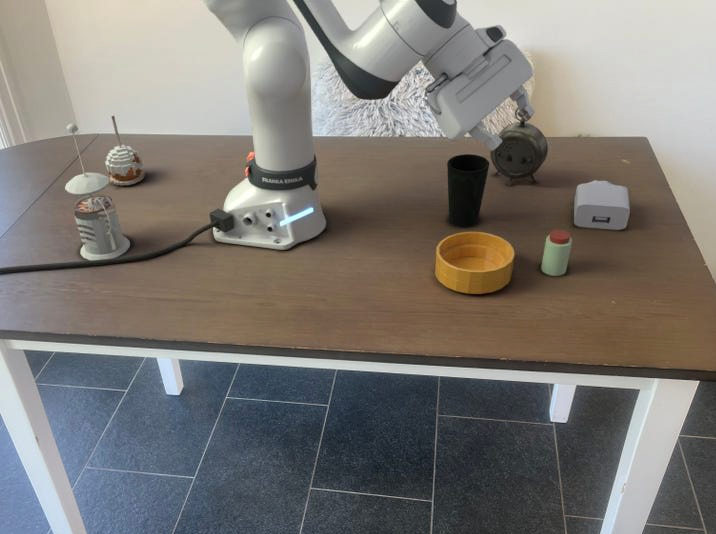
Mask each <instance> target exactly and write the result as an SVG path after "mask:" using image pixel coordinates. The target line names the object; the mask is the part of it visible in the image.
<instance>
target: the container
mask: <svg viewBox="0 0 716 534" xmlns="http://www.w3.org/2000/svg"><path fill="white" fill-rule="evenodd" d="M572 243H573V239H572V237H571V234H570V233H569V231H566V230H563V229H555V230H552V231H551V232H550V233H549V235H547V236H546V239H545V243H544V249H543V254H542V260H541V267H540V269H541V271H542V273H543V274H545V275H548V276H552V277H559V276H563V275H564V274H565V273H566V272H567V268H568V263H569V259H570V255H571V249H572Z"/></svg>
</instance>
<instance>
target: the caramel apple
mask: <svg viewBox="0 0 716 534" xmlns="http://www.w3.org/2000/svg"><path fill="white" fill-rule="evenodd" d="M110 116H111V121H112V126H113V129H114V133H115V137H116V142H117V146H114V147H113V149H110V150H109V152H108V153H107V155H106V160H105V161H104V163H105V166H106V170H107V173H108V175H110V176H109V177H108V178H109V182H110V183H111V184H114V185H117V186H130V185H134V184H135V185H136V184H137V183H139V182H141V181H142V180H143V179H144V177H145V176H146V173H145V172H144V170H143V167H142V166H144V165H143V160H142V157H141V155H140V154H138V151H137V150H134V148H133V147H131V146H130V145H128V146H126V145H125V144H122V142H121V139H120V135H119V131H118V126H117V122H116V117H115V114H112V115H110Z"/></svg>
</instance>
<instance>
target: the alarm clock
mask: <svg viewBox="0 0 716 534" xmlns="http://www.w3.org/2000/svg"><path fill="white" fill-rule="evenodd" d="M518 111H519V109H518V107H516V108H515V111H514V116H515V118H516V120H517V122H513V123H509V124H508V125H505V126H504V127H503V128H502V129H501V131H500V132H499V133H497V134H498V135H499V138H501V139H502V143H501V144H500V145H499V146H498V147H497V148H496V149H494V150H493V151H491V150H490V149H489V155H490V160H491V163H492V165H493V167H494V168H495V169H496V171H495V172H494V175H495V176H496V175H498V174H499V173H500V174H501V175H503V176H504V177H505V178H508V182H507V184H508V185H509V186H511V185H512V184H513V180H524V179H527V178H530V179H531V180H532V182H533V184H536V183H537V180H536V177H535V174H536V173H537V172H538V171H539V169H540V168H541V167H542V165H543V164H544V163H545V161H546V159H547V156H548V152H549V147H548V145H549V144H548V141H547V139H546V137H545V134H544V133H543V132H542V131H541V130H540V129H539V128H538V127H537V126H535V125H533V124H531V123H528V121H529V120H531V118H532V116H531V117H530V118H529V119H527V120H526V121H522V119H521V118H519V116H518V114H517V113H518Z"/></svg>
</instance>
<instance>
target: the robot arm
mask: <svg viewBox="0 0 716 534" xmlns="http://www.w3.org/2000/svg"><path fill="white" fill-rule="evenodd" d="M202 2H203V3H204V5H205V6H206V8H207V10H208V11H209V12H210V13H211V14H213V15H214V16H215V17H216V19H217V20H218V21H219V22H220V23H221V24H222V26H223V27H224V28H225V29H226V30H227V31H228V33H229V34H230V35H231V36H232V38H233V39H234V41H235V42H236V43H237V45H238V46H239V48H240V50H241V53H242V69H243V77H244V84H245V91H246V92H245V93H246V99H247V106H248V113H249V118H250V125H251V134H252V142H253V151H250V152H249V154H248V156H247V158H246V164H245V170H244V172H245V178H244V179H242V180H241V181H240V182H239V183H237V185H235V186H234V187H233V188H232V189H231V190H230V191H229V192H228V194H227V196H226V198H225V200H224V203H223V208H222V209H221V208H216V209H214V210H213V211H211V212H209V219H210V220H209V221H210V223H209V224H206V225H204V226H202V227H201V228H198V229H197V230H195V231H194V232H193V233H191V234H190V235H189V236H188V237H187V238H185V239H183V240H182V241H180V242H178V243H176V244H173V245H170V246H168V247H165V248H162V249H157V250H155V251H151V252H147V253H143V254H137V255H136V254H135V255H129V256H121V257H120V256H118V257H115V258H110V259H101V260H80V261H68V262H67V261H66V262H56V263H55V262H52V263H39V264H28V265H16V266H6V267H0V274H1V273H10V272H21V271H33V270H34V271H35V270H45V269H59V268H72V267H73V268H74V267H84V266H97V265H105V264H106V265H107V264H115V263H123V262H133V261H139V260H144V259H149V258H152V257H157V256H160V255H164V254H167V253H171V252H173V251H175V250H177V249H179V248H182V247H184V246H186V245H187V244H189V243H191V242H192V241H193V240H194V239H195V238H196V237H197V236H199V235H201V234H203V233H204V232H206V231H209V230H210V229H212V230H213V231H212V233H213V237H214V239H215V241H216V242H218V243H224V244H232V245H240V246H248V247H255V248H264V249H271V250H280V251H286V250H289V249H291V248H292V247H294V246H295V245H297V244H299V243H302V242H303V243H304V242H305V241H308V240H311V239H313V238H316V237H317V236H319V235H320V234H321V233H322V232H323V231H324V230H325V228H326V226H327V220H326V217H325V214H324V212H323V207H322V205H321V201H320V196H319V191H318V184H319V166H318V162H317V155H316V154H315V152H314V151H315V149H314V132H313V131H314V130H313V117H312V111H313V109H312V82H311V81H312V80H311V79H312V78H311V58H310V51H309V46H308V42H307V38H306V34H305V33H306V32H305V29H304V26H303V24H302V22H301V21H300V19H299V18H298V16H297V14H296V13H295V11H294V9H293V8H292V6H291V4H290V3H289V1H288V0H202ZM292 2H293V3H294V4H295V6H296V8H297V9H298V11H299V13H300V14H301V15H302V17H303V18H304V20H305V22H306V23H307V25H308V26H309V28H310V29H311V31H312V33H313V34H314V35H315V37H316V38H317V40H318V41H319V43H320V45H321V46H322V47H323V49H324V50H325V52H326V54H327V56H328V58H329V59H330V61H331V64H332V65H333V67H334V69H335V70H336V72H337V74H338V76H339V78H340V79H341V81H342V83H343V84H344V86H345V87H346V89H347V90H348V91H349V92H350V93H351V94H352V95H353V96H354V97H356V98H357V99H359V100H364V101H376V100H377V101H378V100H383V99H386V98H387V97H388V96H389V95H390V94H391V93H392V91H394V90H395V88H396V87H397V86H398V85H399V84H400V83H401V82H402V79H403V78H405V76H406V75H407V74H409V72H411V71H412V70H413V69H414V68H415V67H416V66H417V65H418V64H419V63H420V62H421V63H422V65H423V67H424V68H425V69H426V71H427V72H428V73H429V75H431V77H432V78H433V80H434V81H432V82H430V83H429V84H427V86H426V87H425V89H424V102H425V104H426V105H427V106H428V107H429V110H430V112H431V115H432V116H433V118H434V119H435V122H436V123H437V125H438V127H439V128H440V129H441V131H442V132H443V133H444V135H445V137H446V138H447V139H448V140H450V141H452V142H459V141H460V140H461V139H462V138H464V137H465V136H466V135H467V134H469V135H470V137H471V138H472V139H473V140H476V141H478V142H480V143H482V144H484V145H485V146H486V147H487V149H488V150H489V151H490V150H491V151H493V150H494V149H496V148H497V147H498V146H499V145H500V144H501V143H502V139H501V138H499V135H498V134H499V133H498V132H496V133H494V134H493V133H491V132H490V131H488V130H487V129H485V128H486V127H487V126H486V124H485V123H484V122H483V121H484V119H485V118H486V117H487V116H489V115H490V114H492V112H493V111H494V110H496V109H497V108H498V107H499V106H500V105H502V104H503V103H504V102H505V101H506V100H507V99H508V98H509V99H510V100H511V101H512V102H516V105H517V108H518V111H517V113H516V114H517V117H518V118H520V120H521V119H522V121H526V120H527V119H529V118H530V117H531V118H532V116H533V115H534V114H535V113H536V112H535V109H534V108H533V107H532V105H531V104H530V99H529V95H528V94H529V93H528V91H527V90H526V88H525V87H524V84H526V83H527V82H528V81H529V80H530V79H531V78H532V77H533V76H534V71H533V67H532V65H531V63H530V62H529V60H528V59H527V57H526V56H525V54H524V53H523V52H522V51H521V49H520V48H519V47H518V46H517V45H516V44H515V43H514V42H513V41H512V40H510V39H507V38H506V37H507V31H506V30H505V28H504V27H503V26H502V25H501V24H496V25H491V26H486V27H478V28H476V29H475V28H474V27H473V25H472V24H471V23H470V21H468V20H467V19H465V18H464V17H463V16H462V15H461V14H460V13H459V12H458V10H457V8H458V1H457V0H378V3H379V5H378V7H376V9H374V11H373V12H372V13H370V15H369V16H368V17H366V19H365V20H364V21H363V22H362V23H361V24H360V25H359V27H357V28H356V29H354V30H352V29H350V28H349V26H348V24H347V23H346V21H345V20H344V19H343V17H342V14H340V12H339V10H338V9H337V7H336V6H335V4H334V2H333V1H332V0H292ZM531 118H530V119H531ZM530 119H529V120H530ZM526 122H527V121H526Z"/></svg>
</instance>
